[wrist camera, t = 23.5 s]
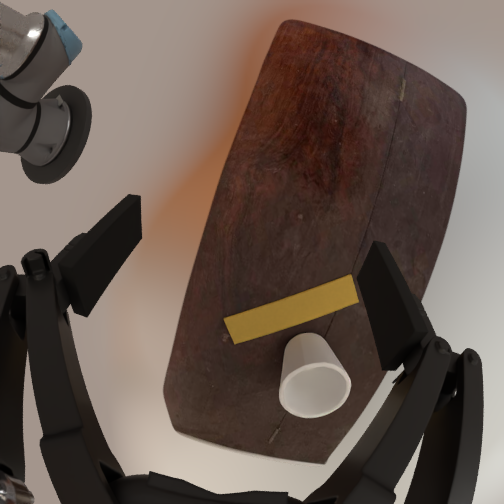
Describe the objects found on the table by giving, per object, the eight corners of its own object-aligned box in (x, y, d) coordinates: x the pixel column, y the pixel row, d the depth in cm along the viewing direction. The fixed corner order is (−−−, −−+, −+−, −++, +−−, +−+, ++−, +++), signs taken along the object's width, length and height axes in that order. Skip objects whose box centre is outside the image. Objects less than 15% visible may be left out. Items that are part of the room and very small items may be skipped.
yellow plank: (234, 342, 46) (234, 344, 45) (223, 317, 45) (223, 319, 45) (357, 300, 43) (358, 302, 43) (350, 273, 43) (351, 274, 42)
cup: (287, 379, 46) (291, 425, 34) (269, 336, 45) (267, 377, 33) (339, 361, 45) (357, 404, 33) (325, 316, 44) (342, 352, 32)
